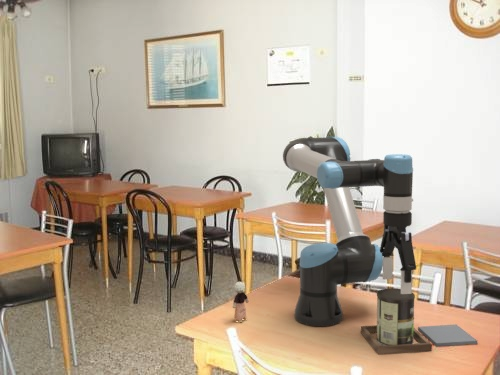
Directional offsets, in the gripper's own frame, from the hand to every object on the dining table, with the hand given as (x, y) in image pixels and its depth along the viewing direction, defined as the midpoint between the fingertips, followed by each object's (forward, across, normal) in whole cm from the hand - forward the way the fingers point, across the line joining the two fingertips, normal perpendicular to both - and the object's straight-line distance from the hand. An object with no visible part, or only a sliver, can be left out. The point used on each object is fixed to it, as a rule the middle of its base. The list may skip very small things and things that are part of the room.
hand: (396, 286), depth 151 cm
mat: (+16, +2, -16) cm, 23 cm away
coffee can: (+17, 0, 0) cm, 17 cm away
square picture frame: (+16, 0, 0) cm, 16 cm away
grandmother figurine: (+16, +22, +42) cm, 50 cm away
